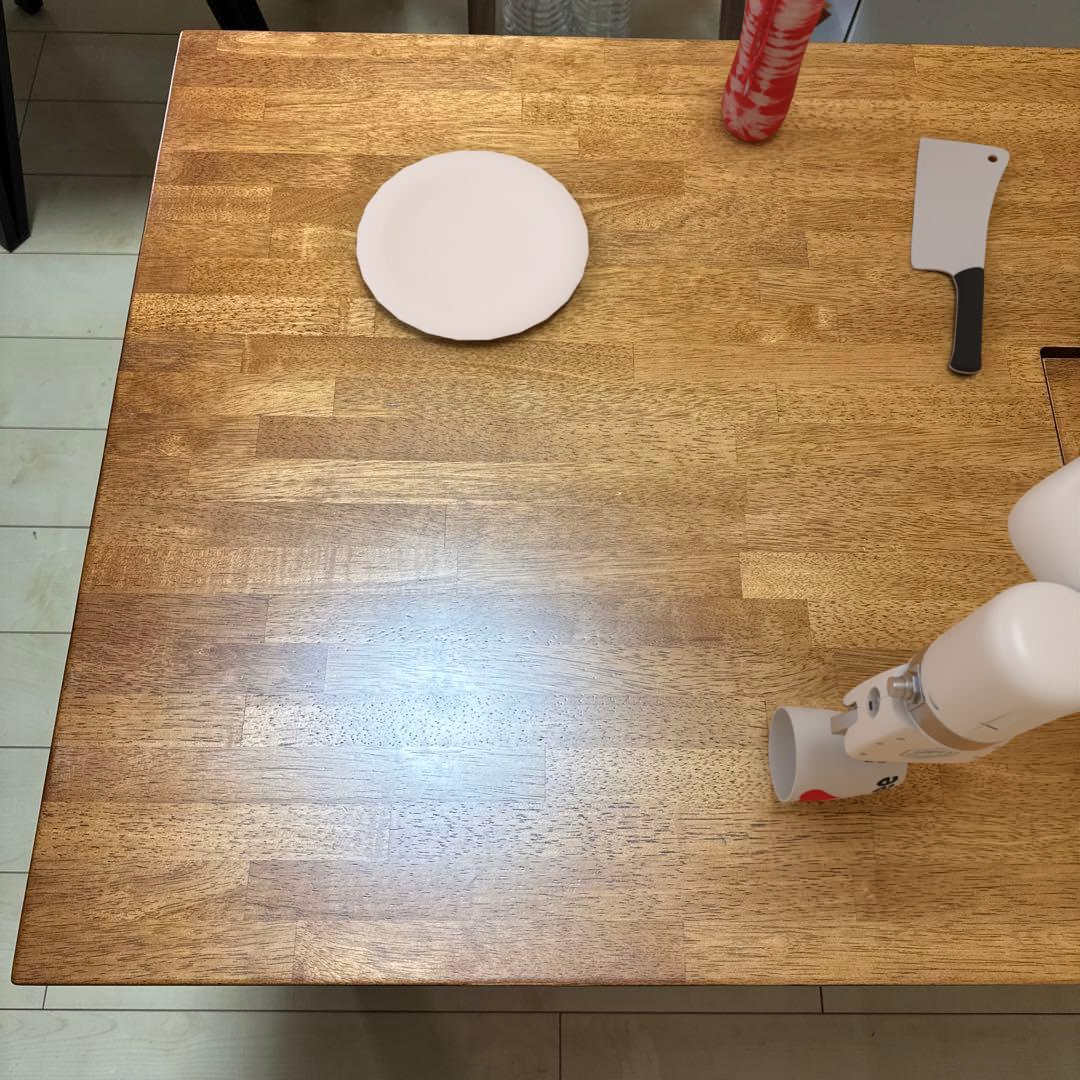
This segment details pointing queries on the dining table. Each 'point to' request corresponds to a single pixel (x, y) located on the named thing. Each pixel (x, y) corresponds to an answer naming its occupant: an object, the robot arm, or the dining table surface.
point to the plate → (472, 245)
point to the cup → (820, 760)
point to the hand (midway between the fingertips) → (872, 743)
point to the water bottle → (768, 64)
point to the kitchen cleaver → (957, 230)
